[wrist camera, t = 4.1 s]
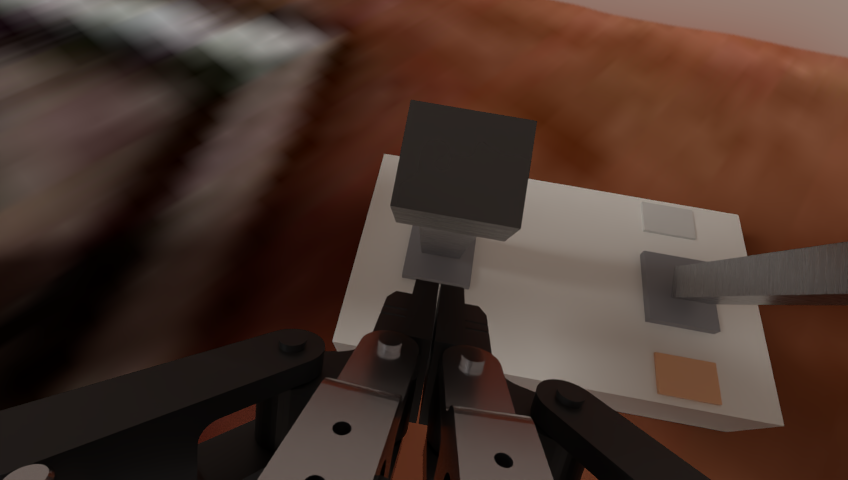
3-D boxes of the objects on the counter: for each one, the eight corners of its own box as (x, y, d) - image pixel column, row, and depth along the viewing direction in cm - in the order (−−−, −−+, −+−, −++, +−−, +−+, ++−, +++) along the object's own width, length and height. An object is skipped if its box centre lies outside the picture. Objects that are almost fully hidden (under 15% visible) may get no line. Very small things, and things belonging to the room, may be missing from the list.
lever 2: (660, 305, 22) (975, 308, 9) (665, 255, 22) (974, 195, 10) (719, 315, 22) (1117, 334, 9) (723, 265, 22) (1111, 218, 10)
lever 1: (410, 260, 22) (390, 205, 10) (419, 211, 22) (410, 99, 10) (467, 270, 22) (520, 228, 10) (475, 221, 22) (536, 121, 10)
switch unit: (341, 359, 24) (330, 338, 20) (385, 190, 30) (383, 148, 26) (726, 432, 24) (792, 425, 20) (697, 245, 29) (744, 210, 25)
